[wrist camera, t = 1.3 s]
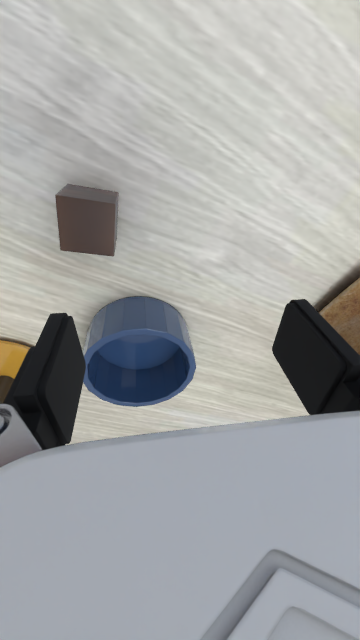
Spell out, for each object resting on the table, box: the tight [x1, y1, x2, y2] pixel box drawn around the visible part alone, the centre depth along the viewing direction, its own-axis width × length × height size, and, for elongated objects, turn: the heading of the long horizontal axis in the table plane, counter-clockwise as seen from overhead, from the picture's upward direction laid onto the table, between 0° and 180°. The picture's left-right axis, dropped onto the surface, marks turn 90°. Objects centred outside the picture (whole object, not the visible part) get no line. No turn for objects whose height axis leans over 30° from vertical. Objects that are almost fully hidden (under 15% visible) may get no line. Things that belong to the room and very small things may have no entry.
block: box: [55, 184, 118, 256], centre depth 24 cm, size 5×5×5 cm
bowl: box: [83, 296, 196, 407], centre depth 34 cm, size 14×14×6 cm
